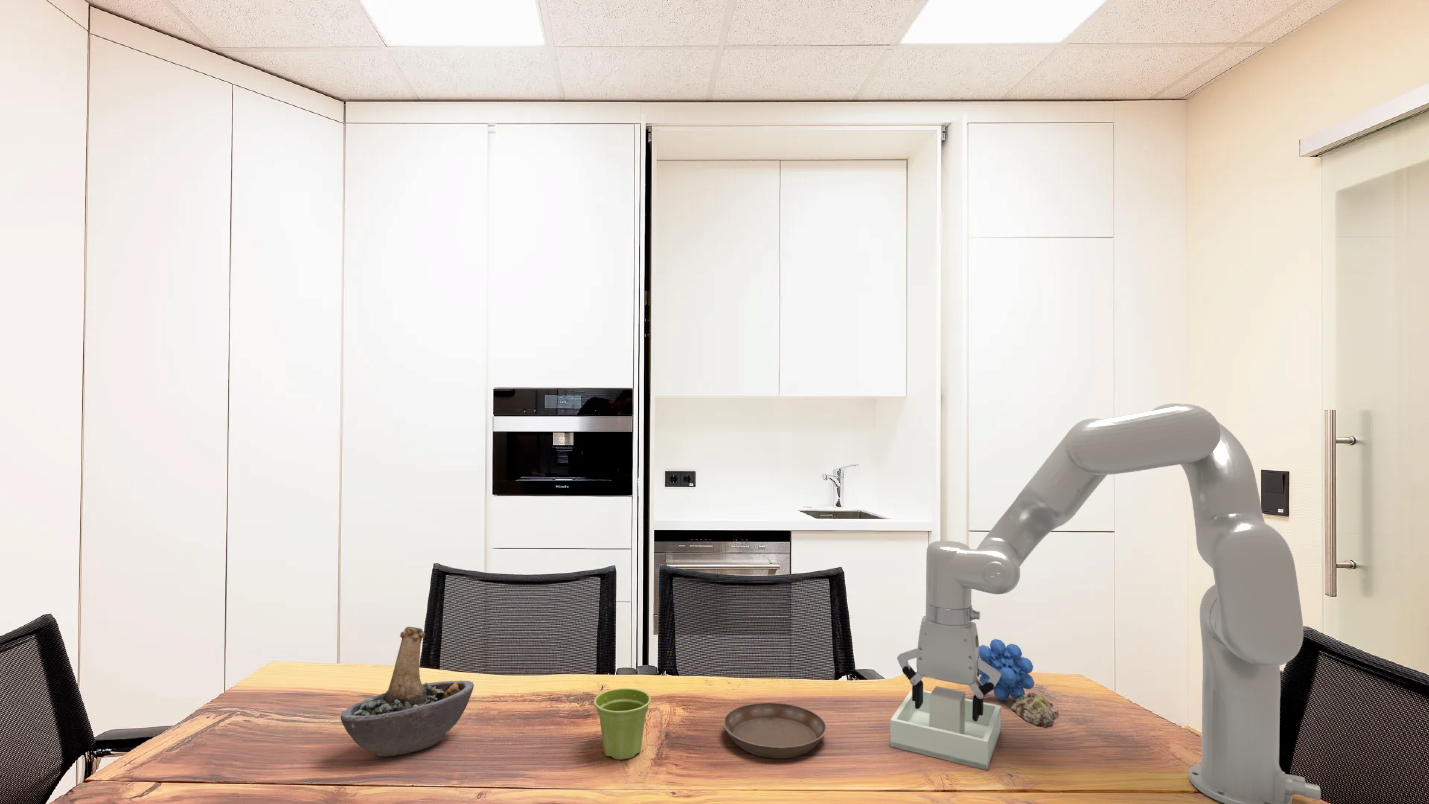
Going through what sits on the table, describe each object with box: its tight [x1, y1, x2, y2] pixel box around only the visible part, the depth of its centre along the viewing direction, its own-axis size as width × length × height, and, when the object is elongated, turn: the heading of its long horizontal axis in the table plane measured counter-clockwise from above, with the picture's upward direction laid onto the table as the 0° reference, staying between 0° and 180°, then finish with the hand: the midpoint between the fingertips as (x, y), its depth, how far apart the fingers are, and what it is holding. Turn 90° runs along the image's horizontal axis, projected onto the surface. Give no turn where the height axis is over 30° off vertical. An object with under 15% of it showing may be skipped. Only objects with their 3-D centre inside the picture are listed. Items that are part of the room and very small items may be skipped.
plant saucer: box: [723, 702, 827, 759], centre depth 124 cm, size 18×18×3 cm
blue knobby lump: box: [979, 638, 1035, 702], centre depth 140 cm, size 12×7×12 cm, turn 84°
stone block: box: [929, 685, 966, 734], centre depth 125 cm, size 5×5×7 cm
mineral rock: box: [1011, 692, 1060, 728], centre depth 135 cm, size 11×4×8 cm
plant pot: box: [593, 687, 652, 760], centre depth 119 cm, size 9×9×9 cm
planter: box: [340, 626, 475, 758], centre depth 119 cm, size 15×17×20 cm
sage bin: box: [889, 689, 1002, 771], centre depth 125 cm, size 16×16×4 cm
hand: (946, 712), depth 125 cm, fingers open, 9 cm apart
